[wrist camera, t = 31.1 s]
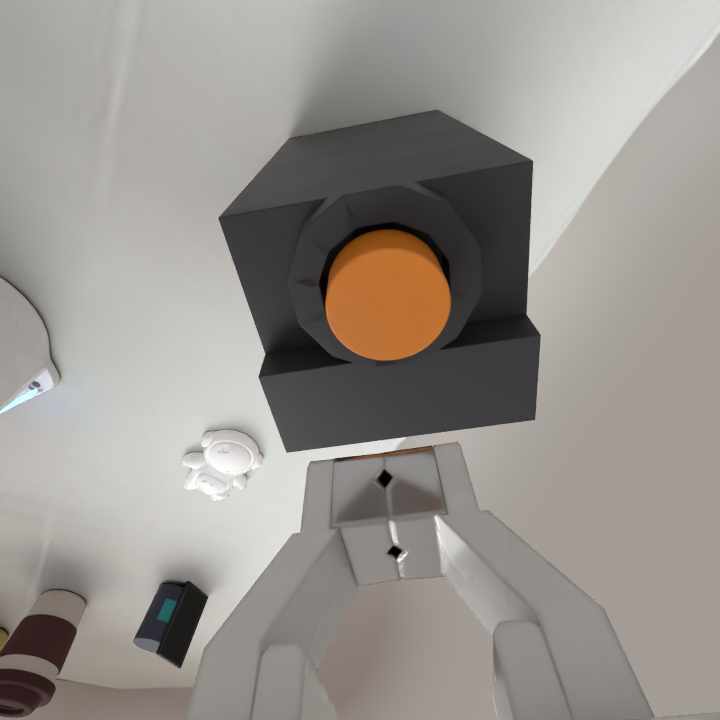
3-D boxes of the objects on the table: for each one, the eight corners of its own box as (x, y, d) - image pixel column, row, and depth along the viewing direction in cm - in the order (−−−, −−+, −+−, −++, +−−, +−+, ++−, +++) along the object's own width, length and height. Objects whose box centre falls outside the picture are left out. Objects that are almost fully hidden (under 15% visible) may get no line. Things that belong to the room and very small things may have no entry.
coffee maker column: (443, 199, 38) (540, 345, 18) (308, 223, 39) (261, 385, 19) (437, 103, 34) (553, 156, 14) (287, 133, 35) (200, 220, 15)
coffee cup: (67, 578, 70) (5, 689, 58) (108, 608, 75) (59, 716, 63) (18, 591, 72) (-52, 701, 60) (61, 619, 77) (5, 726, 65)
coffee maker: (454, 292, 43) (540, 487, 23) (329, 312, 44) (309, 515, 24) (444, 117, 35) (565, 187, 15) (290, 147, 36) (211, 249, 16)
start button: (445, 324, 18) (454, 352, 16) (340, 341, 19) (339, 369, 17) (437, 218, 16) (447, 237, 14) (317, 239, 16) (312, 260, 14)
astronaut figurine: (168, 470, 57) (159, 489, 54) (218, 417, 52) (211, 435, 49) (226, 500, 60) (220, 519, 58) (279, 452, 55) (275, 471, 53)
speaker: (198, 579, 70) (170, 653, 62) (208, 597, 74) (183, 668, 66) (153, 577, 71) (120, 649, 63) (165, 594, 75) (135, 665, 66)
